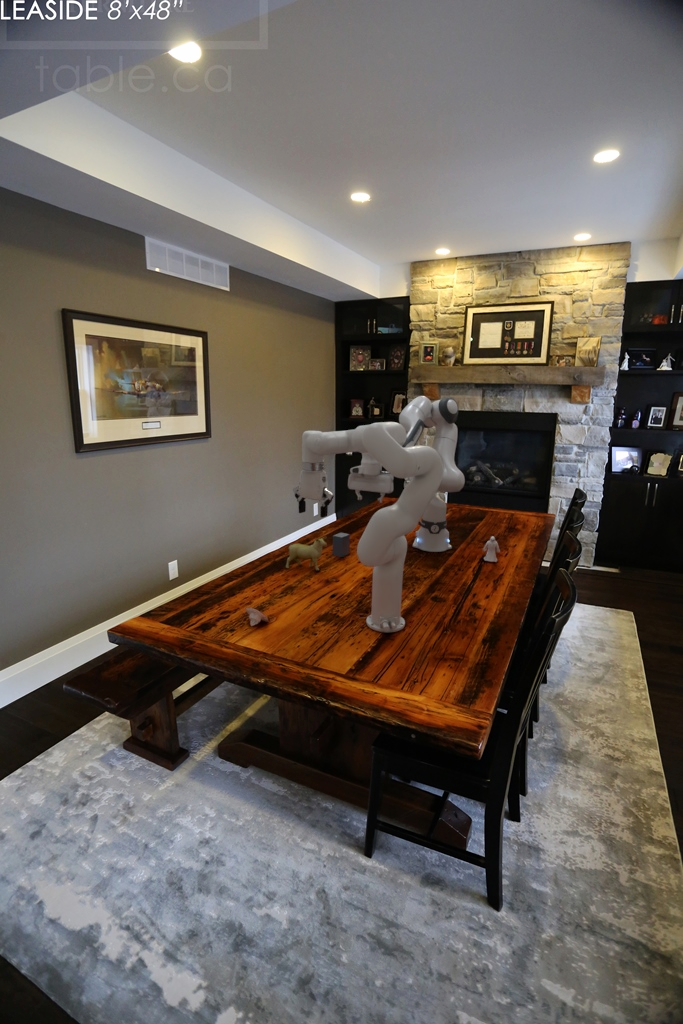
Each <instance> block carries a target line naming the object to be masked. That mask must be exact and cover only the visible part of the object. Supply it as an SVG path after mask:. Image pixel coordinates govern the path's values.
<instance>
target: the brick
mask: <svg viewBox="0 0 683 1024" xmlns="http://www.w3.org/2000/svg"><path fill="white" fill-rule="evenodd" d="M350 537H351V535H350V533H345V532H339V533H337V534H334V535H332V556H334V557H338V558H343V557H345V556H348V555H349V554H350V542H351V541H350V540H351V539H350Z"/></svg>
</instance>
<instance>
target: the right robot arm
mask: <svg viewBox="0 0 683 1024" xmlns="http://www.w3.org/2000/svg"><path fill="white" fill-rule="evenodd" d="M458 415H459V405H458V402H457V401H456V400H455V399H454V397H449V396H448V397H443V398H441V399H437V400H435V401H432V400H430V398H428V397H427V396H425V395H419V396H417V397H415V398H414V399H413V400H411V401H410V402H409V403H408V404H407V405H405V407H404V408H403V409H402V410H401V412H400V413H399V416H398V423H399V424H401V425H402V426H403V427H404V428H405V430H406V434H407V438H406V441H405V443H404V444H403V445H402V447H403V448H404V447H412V446H417V444H418V442H419V440H420V439H421V436H422V435H423V433H424V430H425V429H432V428H435V433H434V436H433V440H432V445H431V447H432V448H433V449H435V450H436V451H437V452H438V454H439V455H440V457H441V460H442V463H443V477H442V481H441V483H440V486H439V488H438V490H437V491H436V493H435V495H434V496H433V498H432V499H431V501H430V503H429V505H428V506H427V508H426V510H425V512H424V514H423V515H422V517H421V519H420V521H419V522H418V524H419V525H420V527H419V529H418V530H416V531H415V536H416V537H415V538H414V541H413V543H412V545H411V547H412V548H415V549H419V550H421V551H426V552H430V553H433V552H434V553H438V552H439V553H440V552H446V551H447V550H451V549H453V546H452V545H451V544H450V532H449V531H448V529H447V524H448V522H447V509H448V507H447V503H446V501H444V500H443V499H442V498H440V497H439V496H438V494H437V492H441V493H457V492H461V490H462V489H463V488H464V486H465V482H466V479H465V475H464V473H463V472H462V471H461V470H460V469H459V468H458V466H457V465H456V461H455V453H456V448H457V443H458V426H457V425H456V424H455V422H457V420H458ZM361 457H362V458H361V461H360V464H359V465H356V466H353V467H351V468H350V469H349V472H350V474H348V479H347V488H348V489H349V490H353V491H354V490H355V494H356V496H357V500H358V501H362V500H363V495H361V493H360V492H361V491H364V492H373V493H380V497H378V498H377V503H378V504H379V503H380V504H382V503H383V499H384V497H385V496H386V494H391V493H393V492H394V479H395V476H393V475H391V474H390V473H389V472H388V471H387V470H382V468H383V466H382V465H381V464H380V463H379V462H378V461H377V460H376V459H375V458H374V457H373V456H372V455H371V454H370V453H361ZM413 477H414V476H413ZM413 477H408V478H409V482H410V481H411V480H412V479H413Z"/></svg>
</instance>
